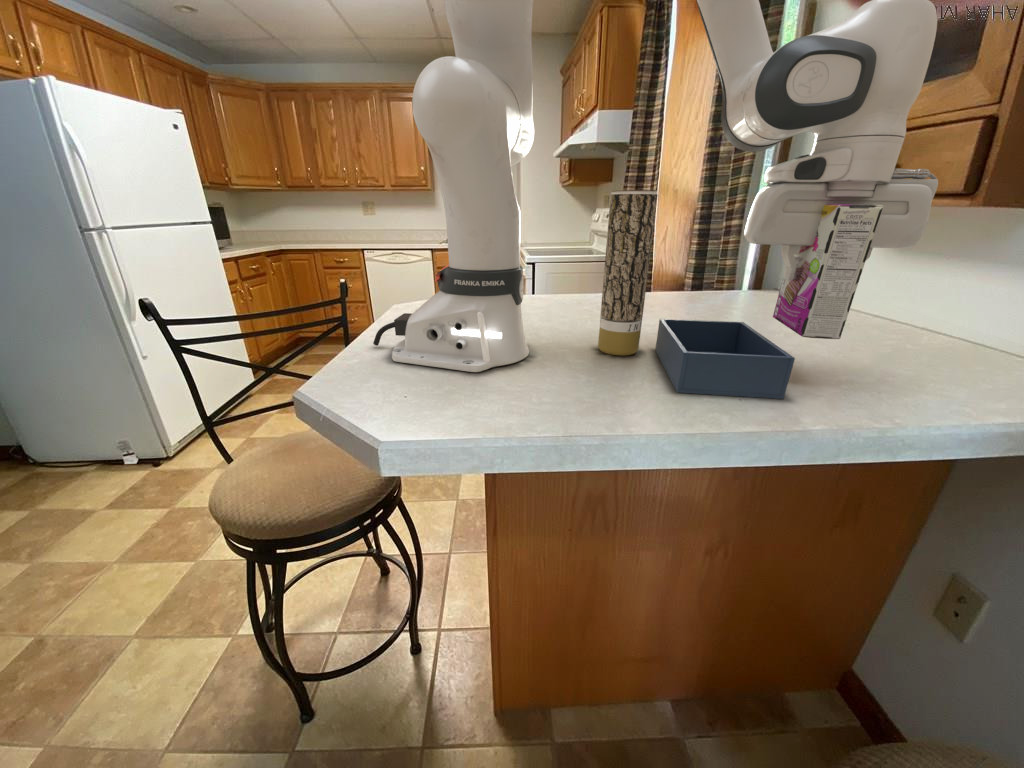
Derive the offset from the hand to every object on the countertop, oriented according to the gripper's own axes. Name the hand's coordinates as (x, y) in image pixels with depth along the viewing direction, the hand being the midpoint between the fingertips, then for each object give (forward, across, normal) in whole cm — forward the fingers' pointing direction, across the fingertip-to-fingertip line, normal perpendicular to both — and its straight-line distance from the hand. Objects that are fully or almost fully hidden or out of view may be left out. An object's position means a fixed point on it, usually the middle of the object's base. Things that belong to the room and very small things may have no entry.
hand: (815, 281), depth 58 cm
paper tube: (+14, +24, -7) cm, 29 cm away
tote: (+14, +11, +1) cm, 18 cm away
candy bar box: (+7, 0, 0) cm, 7 cm away
